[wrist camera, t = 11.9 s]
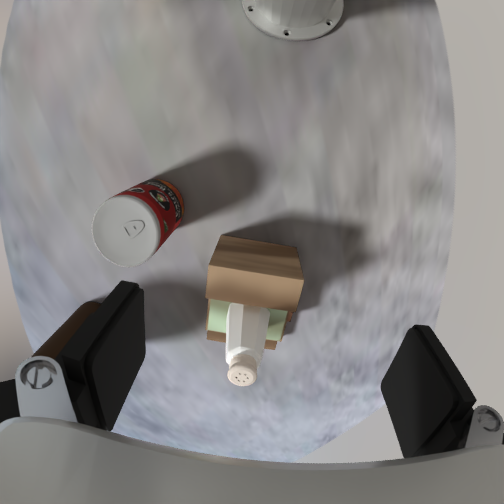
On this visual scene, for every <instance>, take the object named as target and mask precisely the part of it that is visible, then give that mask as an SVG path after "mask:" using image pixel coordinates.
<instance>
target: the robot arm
mask: <svg viewBox="0 0 504 504" xmlns="http://www.w3.org/2000/svg"><path fill="white" fill-rule="evenodd" d="M242 5H243V9H244V12H245V13H246V15H247V17H248V19H249V20H250V21H251V22H252V23H253V25H255V26H256V27H257V28H258V29H260V30H261V31H263V32H264V33H266V34H268V35H270V36H273V37H275V38H278V39H283V40H287V41H308V40H312V39H316V38H318V37H321V36H323V35H325V34H326V33H328V32H329V31H331V30H332V29H333V28H334V27H335V26H336V24H337V23H338V21H339V20H340V18H341V16H342V13H343V8H344V2H343V0H242ZM249 10H253V11H251V12H250V11H249ZM326 23H329V24H330V25H327V24H326ZM285 33H288V34H289V35H288V36H286V35H285ZM145 353H146V347H145V324H144V291H143V289H140V288H139V285H138V284H137V283H132V282H128V281H121V282H120V283H119V284H118V285H117V286H116V287H115V288H114V290H113V291H112V292H111V293H110V294H109V296H108V297H107V298H106V299H105V300H104V302H103V303H102V304H101V305H100V306H99V308H98V309H97V310H96V311H95V312H94V313H91V314H90V315H89V316H88V317H87V318H86V320H85V321H84V322H83V323H82V325H81V326H80V327H79V328H78V330H77V331H76V332H75V333H74V335H73V336H72V337H71V338H70V340H69V341H68V342H67V343H66V345H65V346H64V347H63V349H62V350H61V351H60V352H59V354H58V355H57V356H56V358H55V359H52V358H50V357H45V356H35V357H31V358H28V359H27V360H25V361H23V362H22V363H21V364H20V365H19V366H18V368H17V370H16V374H15V379H12V380H8V381H4V382H0V504H504V433H503V432H504V422H503V419H502V417H501V416H500V414H499V413H498V412H497V411H496V410H494V409H493V408H491V407H489V406H486V405H481V406H478V407H477V408H476V409H475V410H473V408H472V406H473V405H474V404H475V402H476V398H475V396H474V395H473V393H472V391H471V390H470V388H469V387H468V385H467V383H466V381H465V380H464V378H463V377H462V375H461V373H460V372H459V370H458V368H457V367H456V366H455V364H454V362H453V361H452V359H451V358H450V356H449V354H448V353H447V351H446V350H445V348H444V347H443V346H442V344H441V342H440V341H439V339H438V338H437V337H436V335H435V333H434V332H433V331H432V329H431V328H430V327H429V326H426V325H414V326H413V327H412V328H410V329H409V330H408V331H407V333H406V335H405V337H404V340H403V342H402V344H401V346H400V348H399V350H398V352H397V354H396V356H395V358H394V359H393V361H392V363H391V365H390V367H389V369H388V371H387V373H386V375H385V376H384V378H383V380H382V382H381V391H382V394H383V397H384V400H385V402H386V405H387V408H388V411H389V414H390V417H391V420H392V423H393V426H394V429H395V432H396V435H397V438H398V441H399V444H400V447H401V451H402V454H403V457H404V459H396V460H385V461H374V462H359V463H330V464H328V463H327V464H317V463H316V464H315V463H313V464H312V463H284V462H269V461H257V460H247V459H238V458H230V457H223V456H216V455H210V454H204V453H198V452H193V451H187V450H182V449H178V448H173V447H168V446H164V445H159V444H155V443H151V442H146V441H142V440H139V439H135V438H131V437H127V436H124V435H120V434H117V433H113V432H110V431H111V430H112V429H113V427H114V424H115V422H116V420H117V418H118V415H119V413H120V411H121V409H122V406H123V404H124V402H125V400H126V397H127V395H128V393H129V391H130V389H131V386H132V384H133V382H134V380H135V378H136V376H137V373H138V371H139V369H140V367H141V365H142V363H143V361H144V358H145Z"/></svg>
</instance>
